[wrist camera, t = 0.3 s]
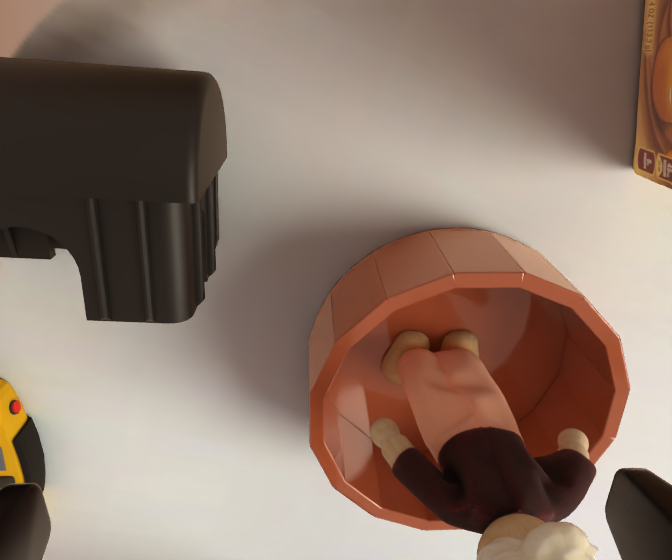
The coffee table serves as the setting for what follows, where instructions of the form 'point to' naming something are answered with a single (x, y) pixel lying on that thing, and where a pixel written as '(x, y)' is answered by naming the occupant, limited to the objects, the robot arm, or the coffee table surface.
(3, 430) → the yellow walkie-talkie
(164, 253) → the end cap
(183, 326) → the coffee table surface
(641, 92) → the candy box
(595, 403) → the desk pot
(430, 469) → the grandmother figurine
